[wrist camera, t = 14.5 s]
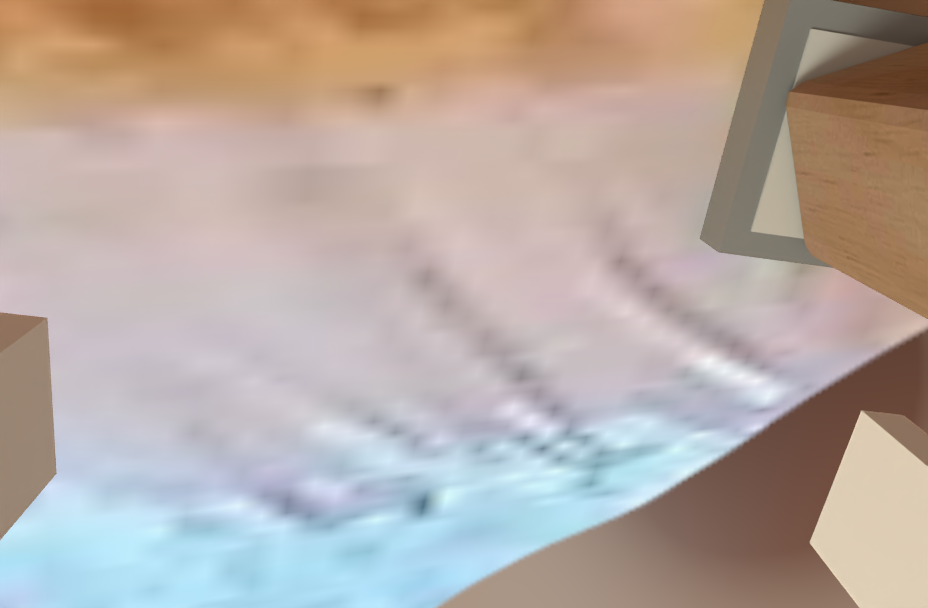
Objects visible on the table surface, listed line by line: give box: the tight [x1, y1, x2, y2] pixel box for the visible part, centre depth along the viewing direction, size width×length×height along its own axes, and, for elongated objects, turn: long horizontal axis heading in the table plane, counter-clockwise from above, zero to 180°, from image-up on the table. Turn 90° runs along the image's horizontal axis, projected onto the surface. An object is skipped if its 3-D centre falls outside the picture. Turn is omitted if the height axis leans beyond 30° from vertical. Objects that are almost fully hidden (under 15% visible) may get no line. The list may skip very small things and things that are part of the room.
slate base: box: [700, 0, 928, 268], centre depth 41 cm, size 14×14×3 cm
